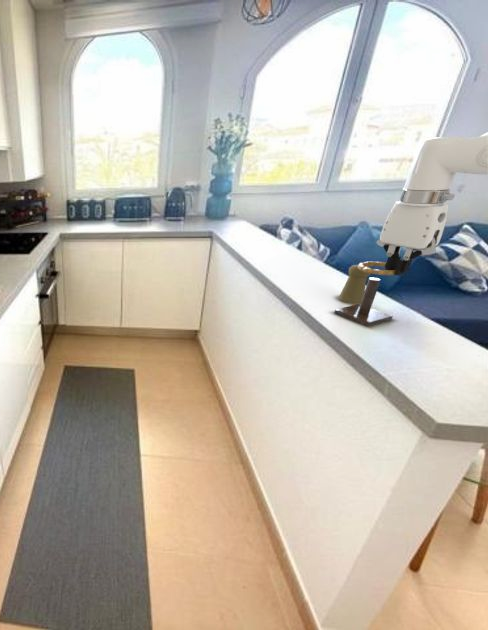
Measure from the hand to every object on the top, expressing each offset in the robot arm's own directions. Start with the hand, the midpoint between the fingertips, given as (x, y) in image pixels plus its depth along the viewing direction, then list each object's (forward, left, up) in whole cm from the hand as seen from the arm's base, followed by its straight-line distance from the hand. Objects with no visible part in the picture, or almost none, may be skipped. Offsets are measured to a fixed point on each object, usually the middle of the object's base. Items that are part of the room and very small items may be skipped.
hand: (395, 272), depth 87 cm
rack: (0, -4, -14) cm, 15 cm away
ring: (0, -4, 0) cm, 4 cm away
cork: (-8, -13, -14) cm, 21 cm away
